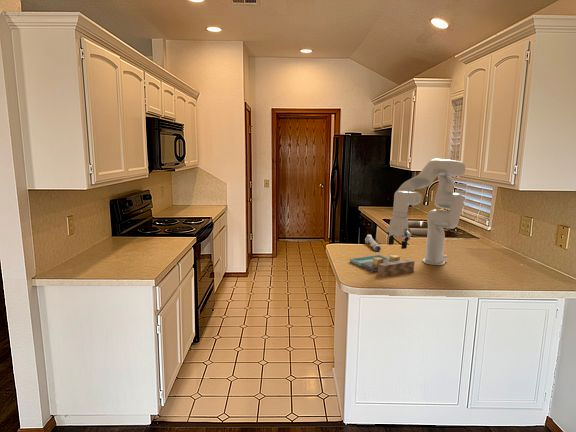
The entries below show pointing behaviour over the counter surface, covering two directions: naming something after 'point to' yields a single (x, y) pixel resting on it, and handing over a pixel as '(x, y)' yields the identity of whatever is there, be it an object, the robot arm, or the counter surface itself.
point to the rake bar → (395, 267)
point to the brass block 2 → (394, 258)
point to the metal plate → (372, 266)
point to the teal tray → (365, 259)
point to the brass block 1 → (377, 261)
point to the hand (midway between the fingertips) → (397, 246)
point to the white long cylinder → (372, 243)
